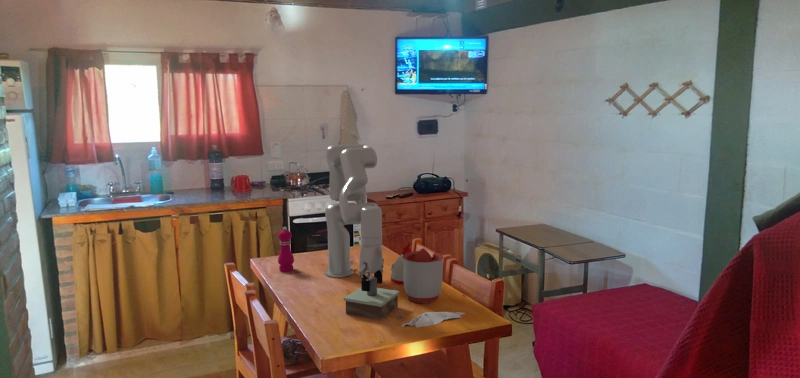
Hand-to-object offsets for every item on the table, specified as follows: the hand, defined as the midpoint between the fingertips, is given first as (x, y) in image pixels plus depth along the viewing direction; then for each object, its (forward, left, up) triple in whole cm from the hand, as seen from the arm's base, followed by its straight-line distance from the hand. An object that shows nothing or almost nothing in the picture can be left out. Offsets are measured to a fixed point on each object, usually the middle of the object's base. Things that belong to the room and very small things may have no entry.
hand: (372, 287), depth 202 cm
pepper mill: (-29, -59, -9) cm, 67 cm away
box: (0, 0, -9) cm, 9 cm away
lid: (0, 0, -4) cm, 4 cm away
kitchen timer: (-38, -3, -9) cm, 39 cm away
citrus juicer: (-20, +12, -9) cm, 25 cm away
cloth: (-2, +23, -10) cm, 25 cm away
